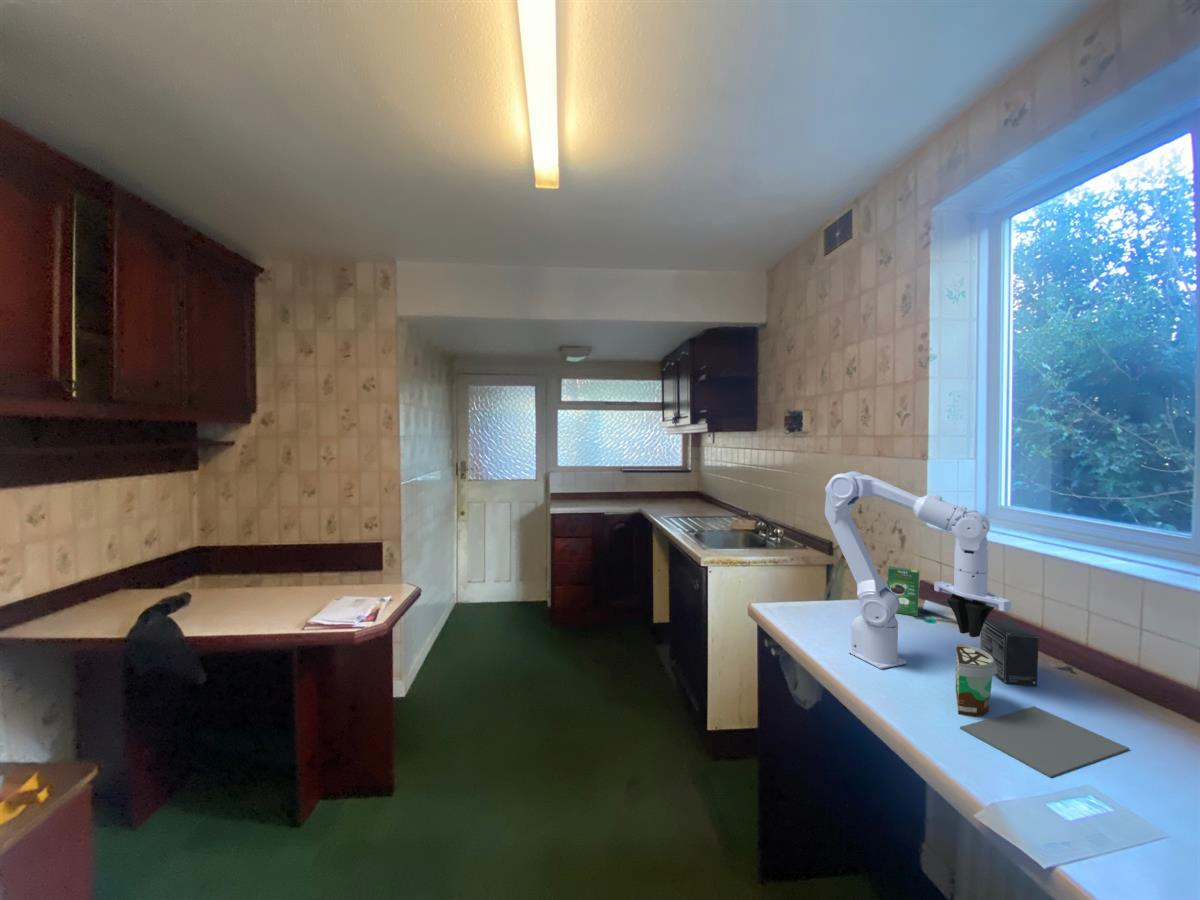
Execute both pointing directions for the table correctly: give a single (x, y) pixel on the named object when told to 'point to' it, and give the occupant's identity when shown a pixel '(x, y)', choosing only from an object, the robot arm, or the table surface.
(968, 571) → the robot arm
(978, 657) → the food container
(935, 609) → the table surface
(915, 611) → the coffee box
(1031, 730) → the mat
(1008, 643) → the small box
